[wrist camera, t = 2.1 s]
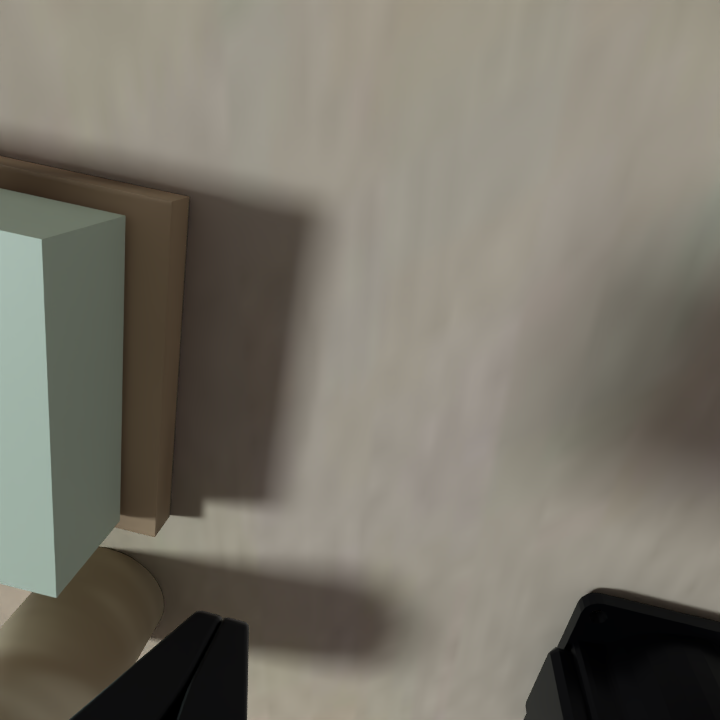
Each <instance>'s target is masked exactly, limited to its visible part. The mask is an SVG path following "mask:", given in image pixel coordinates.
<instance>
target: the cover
mask: <svg viewBox="0 0 720 720" xmlns="http://www.w3.org/2000/svg"><path fill="white" fill-rule="evenodd" d="M125 219H126V216H125V215H120V214H116V213H111V212H107V211H102V210H98V209H93V208H89V207H84V206H79V205H75V204H70V203H66V202H61V201H57V200H52V199H47V198H43V197H38V196H34V195H29V194H25V193H20V192H15V191H11V190H6V189H2V188H0V584H3V585H7V586H11V587H15V588H19V589H23V590H27V591H31V592H35V593H38V594H42V595H46V596H50V597H54V598H57V597H58V596H59V594H60V593H61V592H62V591H63V589H64V588H65V587H66V586H67V585H68V583H69V582H70V581H71V580H72V578H73V577H74V576H75V575H76V574H77V572H78V571H79V570H80V569H81V567H82V566H83V565H84V564H85V563H86V561H87V560H88V559H89V558H90V556H91V555H92V554H93V553H94V552H95V550H96V549H97V548H98V547H99V545H100V544H101V543H102V542H103V541H104V539H105V538H106V537H107V536H108V534H109V533H110V532H111V531H112V530H113V528H114V527H115V526H116V525H117V523H118V522H119V521H120V490H121V436H122V381H123V327H124V273H125Z"/></svg>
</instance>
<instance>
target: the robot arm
mask: <svg viewBox="0 0 720 720" xmlns="http://www.w3.org/2000/svg"><path fill="white" fill-rule="evenodd" d="M595 610H601V611H599V612H592V611H595ZM248 644H249V626H248V624H247V623H246V622H243V621H239V620H236V619H232V618H224V619H223V620H222V617H221V616H219V615H216V614H212V613H208V612H205V611H197V612H195V613H194V614H193V615H191V616H190V617H189V618H188V619H187V620H185V621H184V622H183V623H182V624H181V625H180V626H178V627H177V628H176V629H175V630H174V631H173V632H171V633H170V634H169V635H168V636H167V637H165V638H164V639H163V640H162V641H161V642H160V643H158V644H157V645H156V646H155V647H154V648H153V649H151V650H150V651H149V652H148V653H147V654H145V655H144V656H143V657H142V658H141V659H140V660H138V661H137V662H136V663H135V664H134V665H133V666H131V667H130V668H129V669H128V670H127V671H125V672H124V673H123V674H122V675H121V676H120V677H118V678H117V679H116V680H115V681H114V682H112V683H111V684H110V685H109V686H108V687H107V688H105V689H104V690H103V691H102V692H101V693H100V694H98V695H97V696H96V697H95V698H94V699H92V700H91V701H90V702H89V703H88V704H87V705H85V706H84V707H83V708H82V709H81V710H80V711H78V712H77V713H76V714H75V715H74V716H72V717H71V718H70V719H69V720H247V695H248ZM526 712H527V714H526V716H525V718H524V720H720V622H716V621H712V620H708V619H703V618H699V617H695V616H691V615H687V614H683V613H679V612H675V611H671V610H667V609H662V608H658V607H654V606H650V605H646V604H642V603H638V602H634V601H630V600H626V599H621V598H617V597H613V596H609V595H605V594H601V593H591V594H587V595H585V596H583V597H582V598H581V599H580V600H579V601H578V603H577V606H576V608H575V610H574V612H573V614H572V616H571V619H570V621H569V623H568V625H567V627H566V629H565V632H564V634H563V636H562V638H561V640H560V642H559V644H558V647H555V648H554V649H553V650H552V651H550V652H549V653H548V655H547V658H546V660H545V662H544V664H543V666H542V669H541V671H540V673H539V675H538V677H537V680H536V682H535V684H534V686H533V688H532V691H531V693H530V695H529V697H528V699H527V701H526Z"/></svg>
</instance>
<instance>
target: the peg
mask: <svg viewBox="0 0 720 720" xmlns="http://www.w3.org/2000/svg"><path fill="white" fill-rule="evenodd" d="M163 611H164V599H163V595H162V592H161V589H160V587H159V585H158V583H157V582H156V580H155V579H154V577H153V576H152V575H151V574H150V572H149V571H148V570H146V569H145V568H144V567H143V566H142V565H141V564H140V563H138V562H137V561H135V560H134V559H132V558H131V557H129V556H127V555H125V554H123V553H120V552H118V551H115V550H111V549H108V548H102V547H98V548H97V549H96V550H95V552H94V553H93V554H92V555H91V556H90V558H89V559H88V560H87V561H86V563H85V564H84V565H83V566H82V567H81V569H80V570H79V571H78V572H77V574H76V575H75V576H74V577H73V578H72V580H71V581H70V582H69V583H68V585H67V586H66V587H65V588H64V589H63V591H62V592H61V593H60V594H59V596H58V597H57V598H54V597H50V596H46V595H42V594H38V593H35V592H32V593H31V594H30V595H29V596H28V597H27V598H26V600H25V601H24V602H23V603H22V604H21V605H20V606H19V608H18V609H17V610H16V611H15V612H14V613H13V614H12V615H11V617H10V618H9V619H8V620H7V621H6V622H5V623H4V625H3V626H2V627H1V628H0V720H69V719H70V718H71V717H72V716H74V715H75V714H76V713H77V712H78V711H80V710H81V709H82V708H83V707H84V706H85V705H87V704H88V703H89V702H90V701H91V700H92V699H94V698H95V697H96V696H97V695H98V694H100V693H101V692H102V691H103V690H104V689H105V688H107V687H108V686H109V685H110V684H111V683H112V682H114V681H115V680H116V679H117V678H118V677H120V676H121V675H122V674H123V673H124V672H125V671H127V670H128V669H129V668H130V667H131V666H133V665H134V664H135V663H136V661H137V659H138V657H139V656H140V654H141V652H142V650H143V649H144V647H145V645H146V643H147V642H148V640H149V638H150V637H151V635H152V633H153V631H154V630H155V628H156V626H157V624H158V623H159V621H160V619H161V617H162V615H163Z"/></svg>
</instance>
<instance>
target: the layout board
mask: <svg viewBox="0 0 720 720" xmlns="http://www.w3.org/2000/svg"><path fill="white" fill-rule="evenodd" d="M0 188H2V189H6V190H11V191H15V192H20V193H25V194H29V195H34V196H38V197H43V198H47V199H52V200H57V201H61V202H66V203H70V204H75V205H79V206H84V207H89V208H93V209H98V210H102V211H107V212H111V213H116V214H120V215H125V216H126V219H125V273H124V327H123V381H122V436H121V490H120V521H119V522H118V523H117V525H116V526H115V527H116V528H120V529H124V530H128V531H132V532H136V533H140V534H144V535H148V536H152V537H155V536H156V535H157V533H158V532H159V530H160V529H161V528H162V526H163V525H164V523H165V522H166V520H167V519H168V518H169V516H170V500H171V484H172V468H173V452H174V436H175V420H176V404H177V388H178V372H179V356H180V340H181V324H182V308H183V292H184V276H185V260H186V244H187V228H188V212H189V197H188V196H184V195H179V194H175V193H170V192H165V191H161V190H156V189H151V188H147V187H142V186H138V185H133V184H128V183H124V182H119V181H114V180H110V179H105V178H100V177H96V176H91V175H87V174H82V173H77V172H73V171H68V170H63V169H59V168H54V167H49V166H45V165H40V164H36V163H31V162H26V161H22V160H17V159H12V158H8V157H3V156H0Z"/></svg>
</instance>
